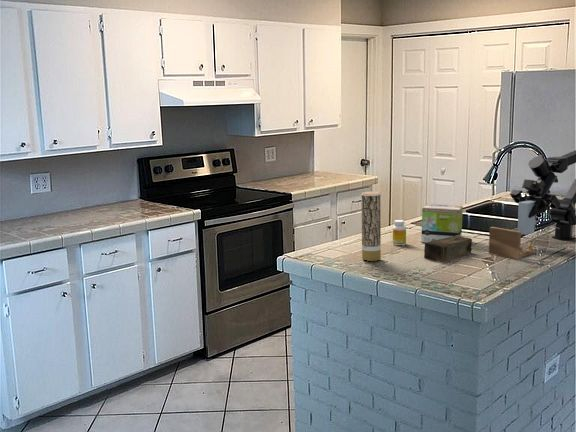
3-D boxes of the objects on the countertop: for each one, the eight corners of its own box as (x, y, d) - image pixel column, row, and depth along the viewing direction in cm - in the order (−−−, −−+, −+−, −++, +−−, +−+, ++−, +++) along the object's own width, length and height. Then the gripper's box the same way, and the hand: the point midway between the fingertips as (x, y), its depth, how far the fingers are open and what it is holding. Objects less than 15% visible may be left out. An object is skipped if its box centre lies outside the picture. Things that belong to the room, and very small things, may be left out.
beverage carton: (472, 253, 231) (473, 236, 230) (440, 263, 220) (440, 245, 218) (455, 249, 237) (455, 233, 236) (422, 259, 226) (422, 241, 224)
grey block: (525, 231, 238) (526, 200, 235) (534, 232, 234) (535, 201, 232) (517, 233, 235) (518, 202, 233) (526, 234, 232) (527, 203, 229)
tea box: (421, 243, 249) (421, 207, 246) (425, 237, 258) (425, 203, 255) (459, 245, 243) (459, 208, 240) (462, 239, 252) (462, 204, 249)
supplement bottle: (405, 246, 245) (406, 222, 243) (392, 245, 246) (392, 222, 244) (406, 242, 250) (406, 219, 248) (392, 242, 251) (392, 219, 249)
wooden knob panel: (508, 247, 237) (509, 222, 235) (537, 253, 228) (538, 226, 226) (488, 253, 230) (489, 227, 228) (517, 259, 220) (518, 232, 218)
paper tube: (369, 263, 222) (368, 195, 217) (358, 259, 228) (357, 192, 223) (384, 260, 225) (384, 193, 220) (373, 256, 231) (373, 191, 226)
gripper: (513, 169, 240) (494, 200, 236) (557, 173, 225) (537, 207, 221) (525, 186, 246) (507, 217, 242) (568, 192, 230) (549, 225, 227)
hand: (524, 216), depth 233 cm, fingers closed on grey block, 4 cm apart
